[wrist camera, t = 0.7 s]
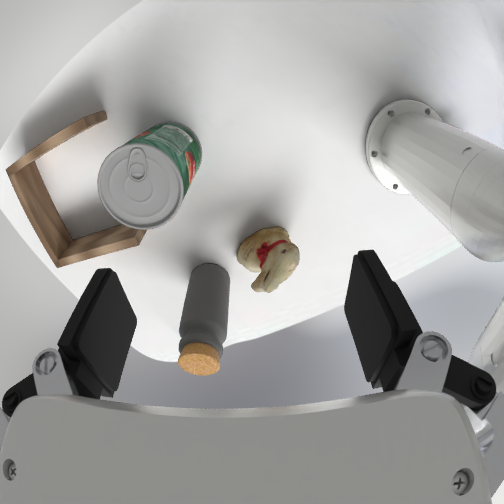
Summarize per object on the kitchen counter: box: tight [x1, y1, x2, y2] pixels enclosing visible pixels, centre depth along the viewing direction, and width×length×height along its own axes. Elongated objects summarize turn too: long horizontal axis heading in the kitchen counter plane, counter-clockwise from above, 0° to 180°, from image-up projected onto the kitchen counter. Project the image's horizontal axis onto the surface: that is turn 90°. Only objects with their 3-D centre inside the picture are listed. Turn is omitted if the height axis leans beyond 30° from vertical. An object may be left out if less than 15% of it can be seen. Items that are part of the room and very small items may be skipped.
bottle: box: [178, 263, 230, 375], centre depth 35 cm, size 6×6×15 cm
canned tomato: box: [98, 122, 202, 230], centre depth 26 cm, size 8×8×11 cm
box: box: [6, 111, 147, 268], centre depth 30 cm, size 15×16×5 cm
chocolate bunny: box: [237, 227, 299, 293], centre depth 34 cm, size 6×8×10 cm
